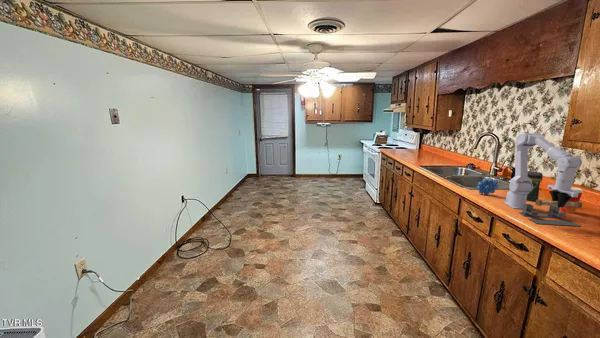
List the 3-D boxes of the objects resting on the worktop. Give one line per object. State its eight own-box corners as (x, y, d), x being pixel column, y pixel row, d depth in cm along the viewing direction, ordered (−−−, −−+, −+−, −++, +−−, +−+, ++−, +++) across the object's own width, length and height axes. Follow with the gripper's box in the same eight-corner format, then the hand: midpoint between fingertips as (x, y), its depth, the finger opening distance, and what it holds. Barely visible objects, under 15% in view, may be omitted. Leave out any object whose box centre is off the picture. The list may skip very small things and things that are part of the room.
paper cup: (556, 208, 147) (562, 185, 144) (575, 211, 142) (582, 188, 139) (559, 211, 141) (565, 188, 138) (578, 215, 136) (585, 191, 133)
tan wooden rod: (539, 205, 124) (540, 200, 124) (535, 204, 127) (536, 199, 127) (581, 207, 122) (582, 202, 122) (576, 206, 125) (577, 201, 124)
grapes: (495, 194, 170) (499, 178, 167) (496, 197, 164) (500, 180, 162) (475, 191, 176) (478, 175, 173) (475, 194, 171) (478, 177, 168)
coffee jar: (536, 199, 162) (542, 171, 158) (538, 202, 156) (545, 174, 152) (517, 196, 168) (522, 169, 163) (518, 199, 161) (524, 171, 157)
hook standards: (518, 213, 138) (521, 203, 137) (554, 215, 136) (557, 205, 135) (528, 218, 132) (530, 207, 130) (566, 220, 129) (569, 209, 128)
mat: (527, 219, 131) (527, 218, 131) (570, 221, 128) (570, 220, 128) (536, 224, 125) (536, 223, 125) (581, 226, 123) (581, 225, 122)
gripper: (543, 176, 129) (537, 200, 132) (569, 184, 115) (561, 211, 118) (558, 176, 128) (552, 201, 131) (586, 184, 114) (578, 212, 117)
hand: (557, 206), depth 125 cm, fingers closed on tan wooden rod, 2 cm apart
